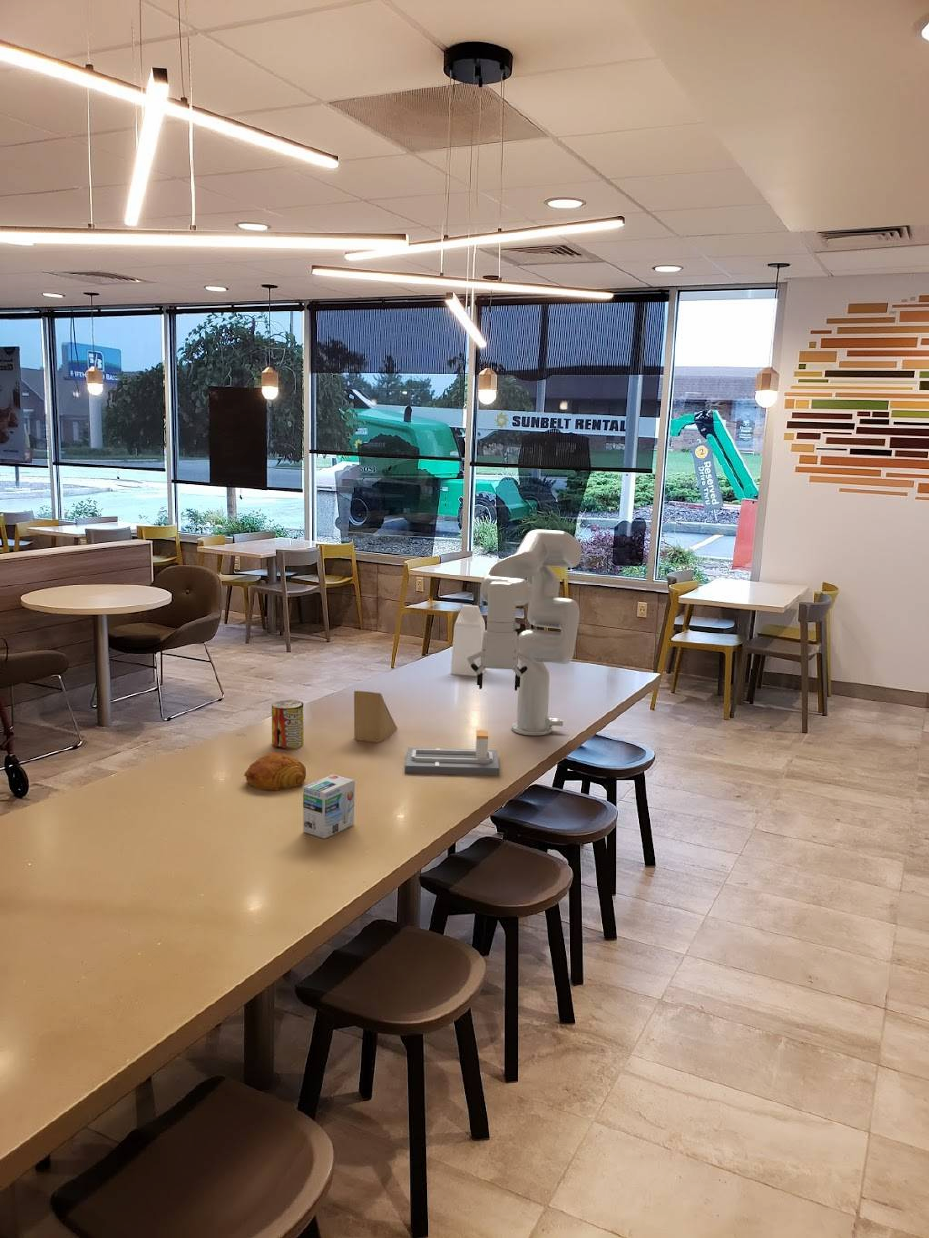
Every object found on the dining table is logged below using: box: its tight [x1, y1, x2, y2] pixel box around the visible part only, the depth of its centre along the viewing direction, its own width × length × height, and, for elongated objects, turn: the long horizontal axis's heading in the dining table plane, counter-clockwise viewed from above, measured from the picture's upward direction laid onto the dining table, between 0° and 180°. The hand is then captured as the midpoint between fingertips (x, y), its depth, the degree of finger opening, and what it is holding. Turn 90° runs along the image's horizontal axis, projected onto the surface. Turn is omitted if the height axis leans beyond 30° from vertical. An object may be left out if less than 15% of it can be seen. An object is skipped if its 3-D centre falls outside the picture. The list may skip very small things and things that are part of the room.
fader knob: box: [475, 729, 489, 759], centre depth 254 cm, size 3×5×7 cm, turn 0°
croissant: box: [243, 751, 307, 792], centre depth 238 cm, size 14×16×8 cm
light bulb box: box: [302, 774, 356, 840], centre depth 210 cm, size 11×7×11 cm, turn 148°
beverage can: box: [271, 699, 305, 750], centre depth 267 cm, size 9×9×12 cm
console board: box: [404, 747, 500, 776], centre depth 255 cm, size 25×15×3 cm, turn 90°
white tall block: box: [450, 604, 487, 677], centre depth 360 cm, size 12×12×26 cm
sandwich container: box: [353, 690, 398, 743], centre depth 280 cm, size 9×15×15 cm, turn 164°
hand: (498, 688), depth 253 cm, fingers open, 9 cm apart
